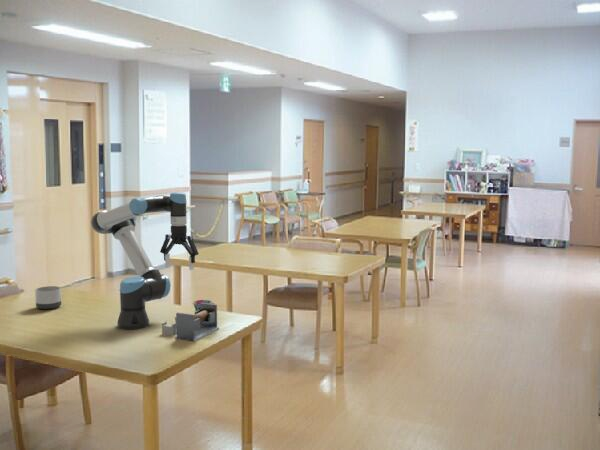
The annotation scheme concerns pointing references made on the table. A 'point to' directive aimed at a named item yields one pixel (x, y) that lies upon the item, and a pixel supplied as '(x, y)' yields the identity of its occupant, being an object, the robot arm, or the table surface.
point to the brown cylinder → (202, 315)
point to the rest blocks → (169, 328)
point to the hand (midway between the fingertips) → (179, 268)
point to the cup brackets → (195, 321)
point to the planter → (48, 297)
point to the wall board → (202, 332)
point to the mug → (197, 303)
